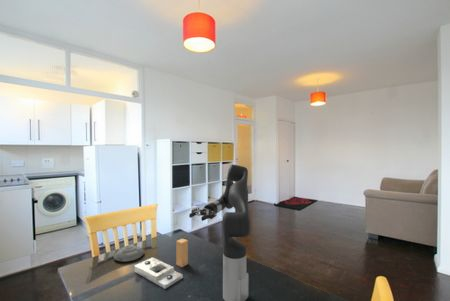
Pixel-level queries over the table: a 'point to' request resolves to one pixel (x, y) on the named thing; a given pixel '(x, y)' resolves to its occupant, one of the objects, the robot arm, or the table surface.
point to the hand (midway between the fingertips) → (195, 217)
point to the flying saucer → (129, 253)
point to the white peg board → (161, 278)
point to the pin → (182, 252)
